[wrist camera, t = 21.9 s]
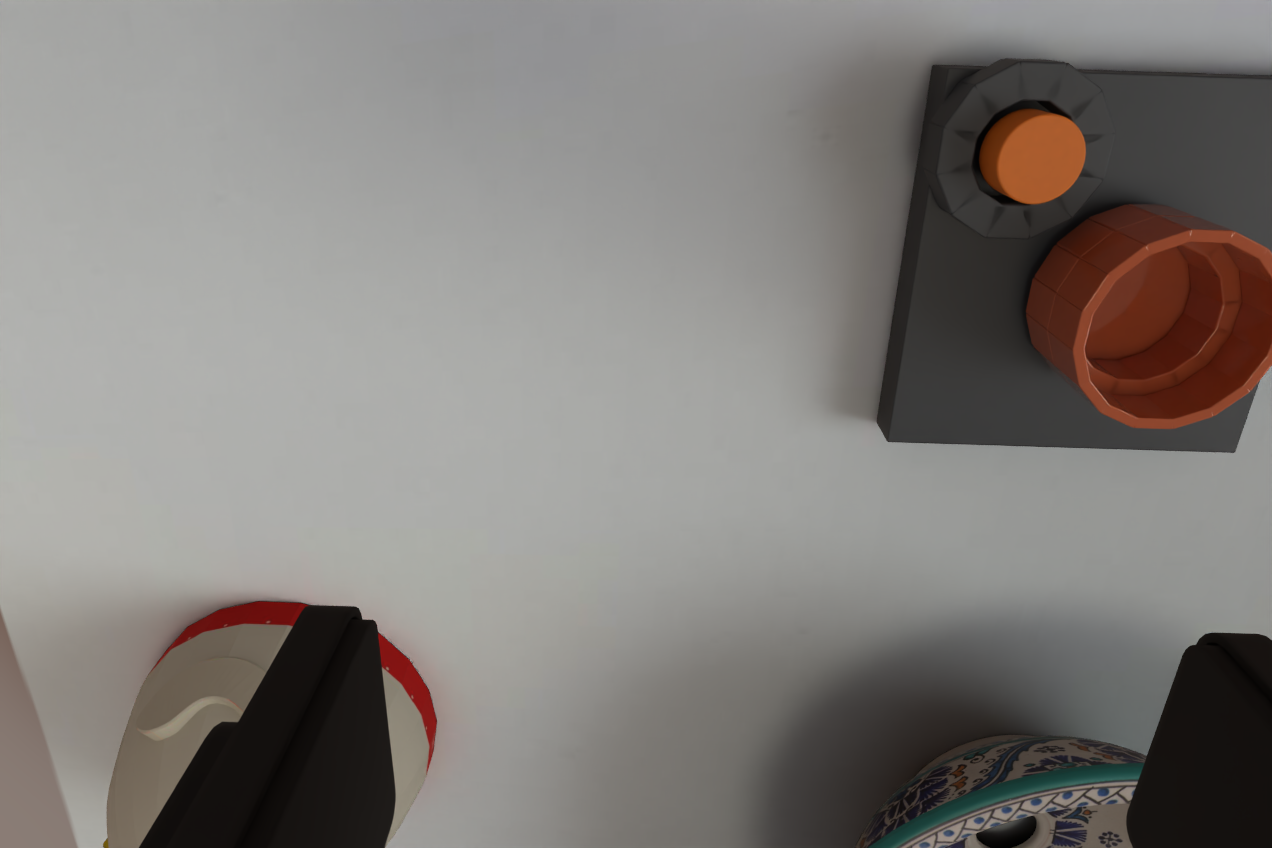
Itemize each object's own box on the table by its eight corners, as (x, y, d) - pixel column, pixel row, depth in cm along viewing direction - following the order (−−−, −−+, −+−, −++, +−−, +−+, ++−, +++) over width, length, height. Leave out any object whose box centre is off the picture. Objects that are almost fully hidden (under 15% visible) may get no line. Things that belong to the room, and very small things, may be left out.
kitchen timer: (115, 613, 42) (-136, 900, 29) (403, 589, 42) (285, 872, 28) (205, 825, 48) (31, 1148, 34) (458, 807, 47) (383, 1130, 34)
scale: (923, 53, 32) (954, 58, 29) (1328, 66, 32) (1404, 72, 29) (867, 422, 38) (887, 460, 35) (1208, 433, 38) (1260, 472, 35)
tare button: (987, 106, 30) (1006, 112, 28) (1072, 109, 30) (1096, 115, 28) (971, 193, 31) (988, 203, 29) (1052, 196, 31) (1075, 206, 29)
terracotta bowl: (1043, 198, 32) (1103, 226, 28) (1234, 204, 32) (1322, 233, 28) (1004, 376, 35) (1053, 426, 31) (1180, 381, 35) (1252, 432, 31)
